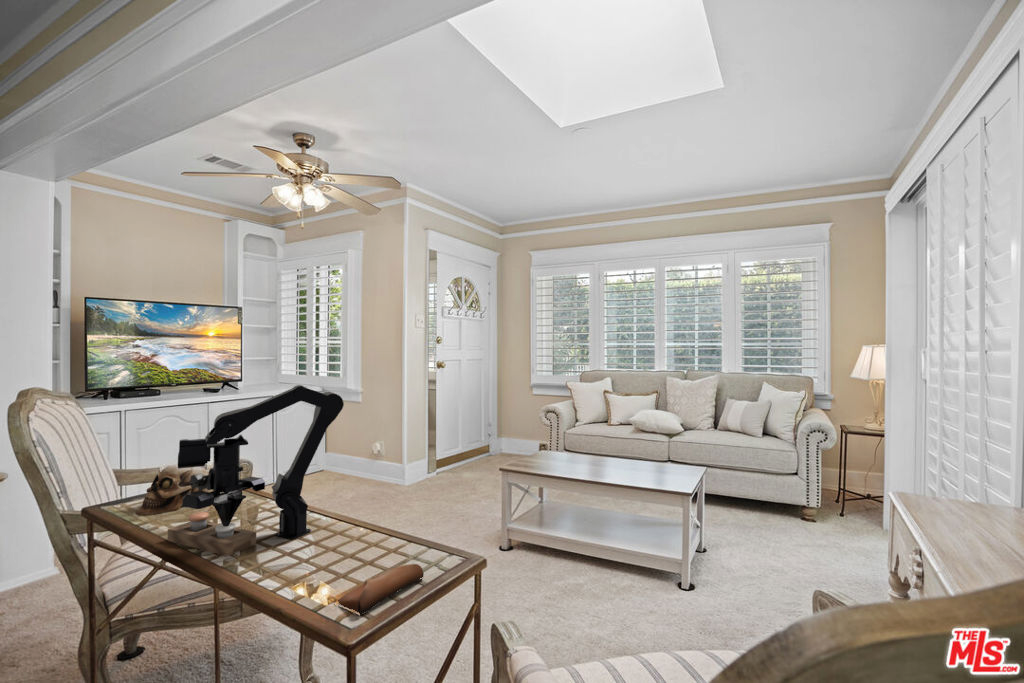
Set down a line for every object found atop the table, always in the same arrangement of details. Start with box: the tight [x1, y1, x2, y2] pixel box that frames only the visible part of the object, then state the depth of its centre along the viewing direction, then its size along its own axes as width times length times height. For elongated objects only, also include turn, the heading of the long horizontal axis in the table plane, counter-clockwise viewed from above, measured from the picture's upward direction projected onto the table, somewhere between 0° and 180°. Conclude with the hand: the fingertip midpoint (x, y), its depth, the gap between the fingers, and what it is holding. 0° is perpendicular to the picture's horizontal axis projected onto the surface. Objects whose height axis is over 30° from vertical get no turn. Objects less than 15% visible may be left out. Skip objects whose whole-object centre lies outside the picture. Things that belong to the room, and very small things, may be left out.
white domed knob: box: [215, 522, 236, 539], centre depth 126 cm, size 4×4×4 cm
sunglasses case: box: [336, 563, 425, 615], centre depth 104 cm, size 18×7×7 cm
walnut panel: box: [167, 520, 257, 557], centre depth 128 cm, size 22×8×3 cm, turn 67°
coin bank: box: [135, 464, 209, 516], centre depth 157 cm, size 16×17×13 cm
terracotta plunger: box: [188, 511, 210, 532], centre depth 130 cm, size 4×4×4 cm
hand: (225, 525), depth 126 cm, fingers closed, pressing on white domed knob
